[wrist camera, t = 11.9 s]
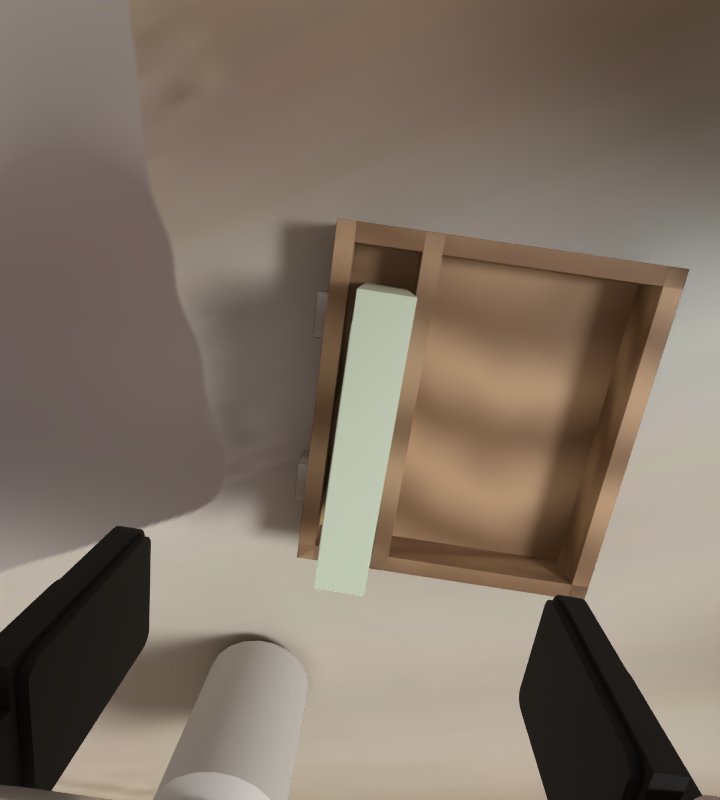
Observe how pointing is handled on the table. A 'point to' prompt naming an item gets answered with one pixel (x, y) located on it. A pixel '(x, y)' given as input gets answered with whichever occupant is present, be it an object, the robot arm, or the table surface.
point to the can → (241, 728)
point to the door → (364, 434)
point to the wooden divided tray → (495, 402)
